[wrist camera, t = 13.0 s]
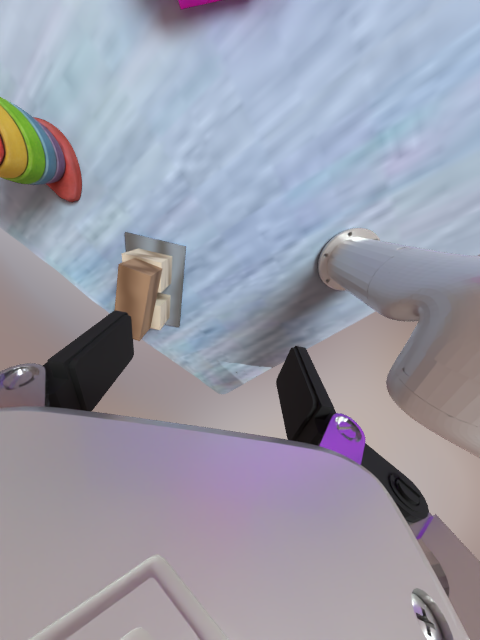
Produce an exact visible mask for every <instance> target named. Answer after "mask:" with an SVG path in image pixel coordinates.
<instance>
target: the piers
mask: <svg viewBox="0 0 480 640" xmlns="http://www.w3.org/2000/svg"><path fill="white" fill-rule="evenodd" d="M125 242H126V252H125V253H122V263H123V262H125V261H128V260H130V259H133V258H137V259H139V260H142V261H144V262H147V263H150V264H152V265H155V266H157V267H160V268H162V274H161V278H160V283H159V288H158V293H157V298H156V303H155V308H154V313H153V318H152V323H151V328H152V329H157V330H161V328H162V327H163V326H164V324H165V325H170V326H175V327H179V326H180V316H181V303H182V291H183V279H184V266H185V254H186V246H182V245H178V244H174V243H169V242H165V241H161V240H157V239H153V238H149V237H144V236H140V235H136V234H132V233H128V232H125Z"/></svg>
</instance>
